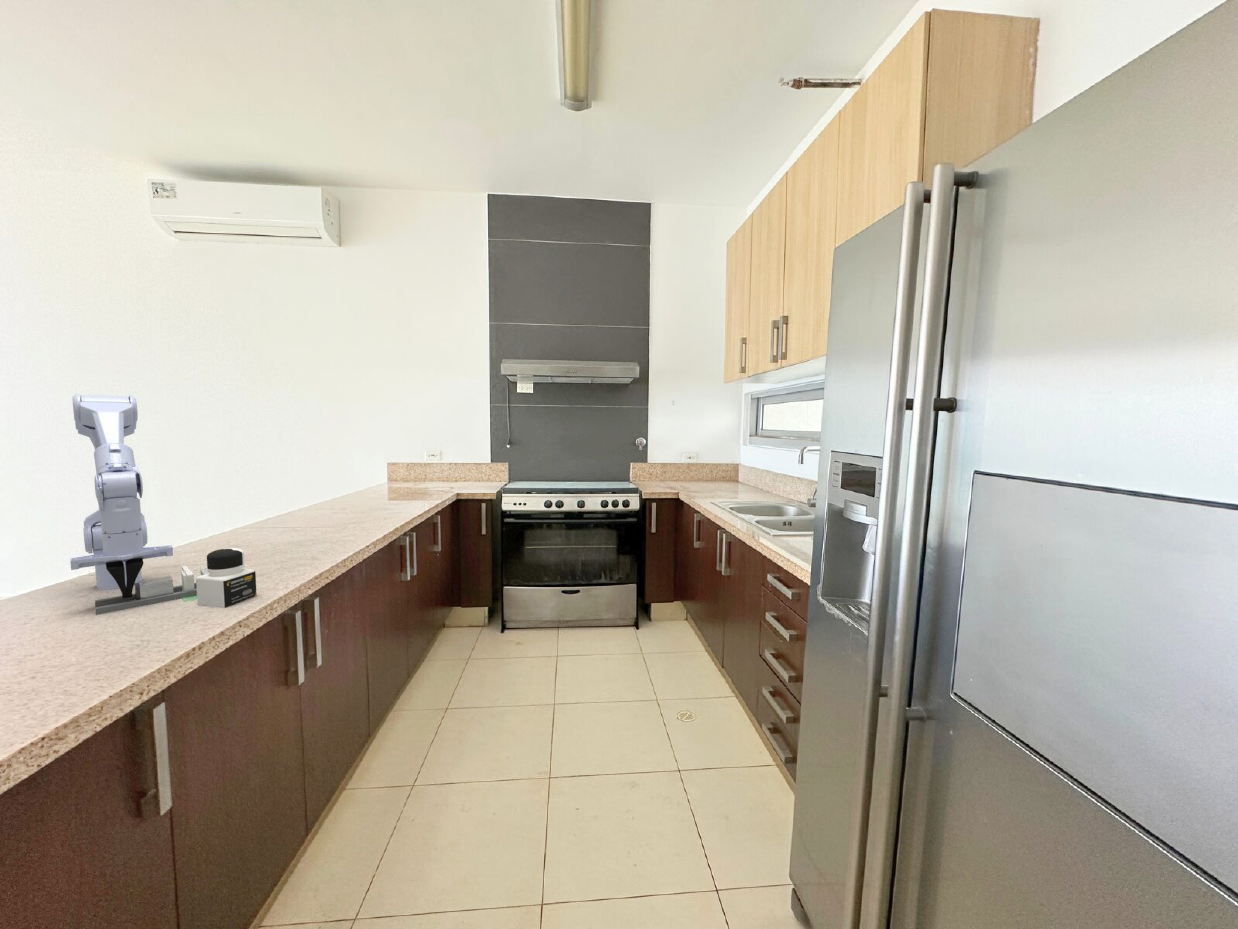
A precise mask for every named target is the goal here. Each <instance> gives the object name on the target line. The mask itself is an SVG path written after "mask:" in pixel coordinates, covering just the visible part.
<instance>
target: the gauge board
mask: <svg viewBox="0 0 1238 929" xmlns="http://www.w3.org/2000/svg"><path fill="white" fill-rule="evenodd" d="M199 573H200V576H201V575H205V574H208V571H207V568H202V569H201V568H200V572H199ZM173 592H174V594H168V595H163V596H157V597H152V598H146V599H141V600H136V598H135V592H134V593H132V597H128V598H122V595H118V596H111V597H107V598H101V599H96V600H94V604H95V606H94V607H95V615H96V616H97V615H98V616H99V615H102V614H103V615H104V614H108V613H114V612H119V611H123V610H124V611H125V610H129V609H133V608H140V607H145V606H151V605H154V604H155V605H156V604H161V603H166V602H171V601H176V600H177V601H178V600H182V601H183V602H184V603H185V602H189V601H195V600H197V586H196V582H194V590H190V591H184V592H182V584H181V585H173Z"/></svg>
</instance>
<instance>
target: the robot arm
mask: <svg viewBox="0 0 1238 929" xmlns="http://www.w3.org/2000/svg"><path fill="white" fill-rule="evenodd" d="M72 409H73V419H74V420H73V421H74V424H75V430H76V431H77V434H79V435H80V436H85V437H86V438H89V440H90V442H91V443H92V446H93V448H94V451H93V456H94V457H93V458H94V464H95V472H96V474H95V476H94V491H95V492H94V493H95V498H96V500H97V503H98V510H96V511H94V512H93V513H91V514H89V515H88V516H87V517H85V519H84V520H83V539H84V541H83V542H84V552H86V553H88V554H89V555H83V556H78V557H71V558H70V560H69V561H70V562H69V563H70V569H71V570H70V571H74V570H79V569H82V568H89V567H90V568H91V567H94V569H95V581H96V589H97V591H98V590H99V591H113V590H114V591H115V590H120V592H121V596H122V598H128V597H132V594H133V591H134V588H135V585H134V583H138V581H140V580H143V578H142V576H143V575H142V568H143V566H144V560H145V559H154V558H160V557H173V556H174V547H173V546H172V544H169V545H161V546H150V547H148V546H147V547H145V546H146V545H147V544H148V528H147V523H146V520H145V515H144V514H143V512H142V511H141V499H142V498H143V493H144V483H143V478H142V475H141V471H140V469H139V467H137V466H136V462H135V455H134V450H133V449H132V448H131V447H130V446H129V445H127V444H125V438H126V437H127V436H130V435H133V434H135V430H136V429H137V422H138V414H139V413H138V401H137V399H136V398H135V397H134V396H133V395H129V396H122V395H121V396H119V395H97V394H95V395H92V394H91V395H90V394H79V393H78V394H77V393H76V394H75V395H73V396H72ZM138 496H139V498H138Z"/></svg>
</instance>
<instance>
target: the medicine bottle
mask: <svg viewBox="0 0 1238 929" xmlns="http://www.w3.org/2000/svg"><path fill="white" fill-rule="evenodd" d="M244 552H245V551H244V550H243V549H241V548H236V547H230V548H220V549H216V550H214V551H213V550H212V551H211V552H209V553H208V554H207V555H206V566H207V571H208V574H205V575H201V574H200V575H199V576H196V577H195V581H196V582H195V583H196V586H197V599H196V600H197V601H196V602H197V605H198V606H203V607H205V606H207V607H213V608H214V607H215V608H223V609H224V608H229V607H232V606H234V605H237V604H239V603H242V602H245V601H248V600H250V599H253V598H256V597H257V596H258V594H257V577H256V574H257V573H256V569H250V568H245V555H244Z"/></svg>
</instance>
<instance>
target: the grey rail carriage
mask: <svg viewBox="0 0 1238 929" xmlns="http://www.w3.org/2000/svg"><path fill="white" fill-rule="evenodd" d="M173 581H174V580H173V578H172V576H171V575H167V576H160V577H159V576H158V577H153V578H147V579H142V580H140V581H138V583H134V593H135V598H136V600H141V599H146V598H152V597H157V596H163V595H168V594H174V592H173V587H174V582H173Z"/></svg>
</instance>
